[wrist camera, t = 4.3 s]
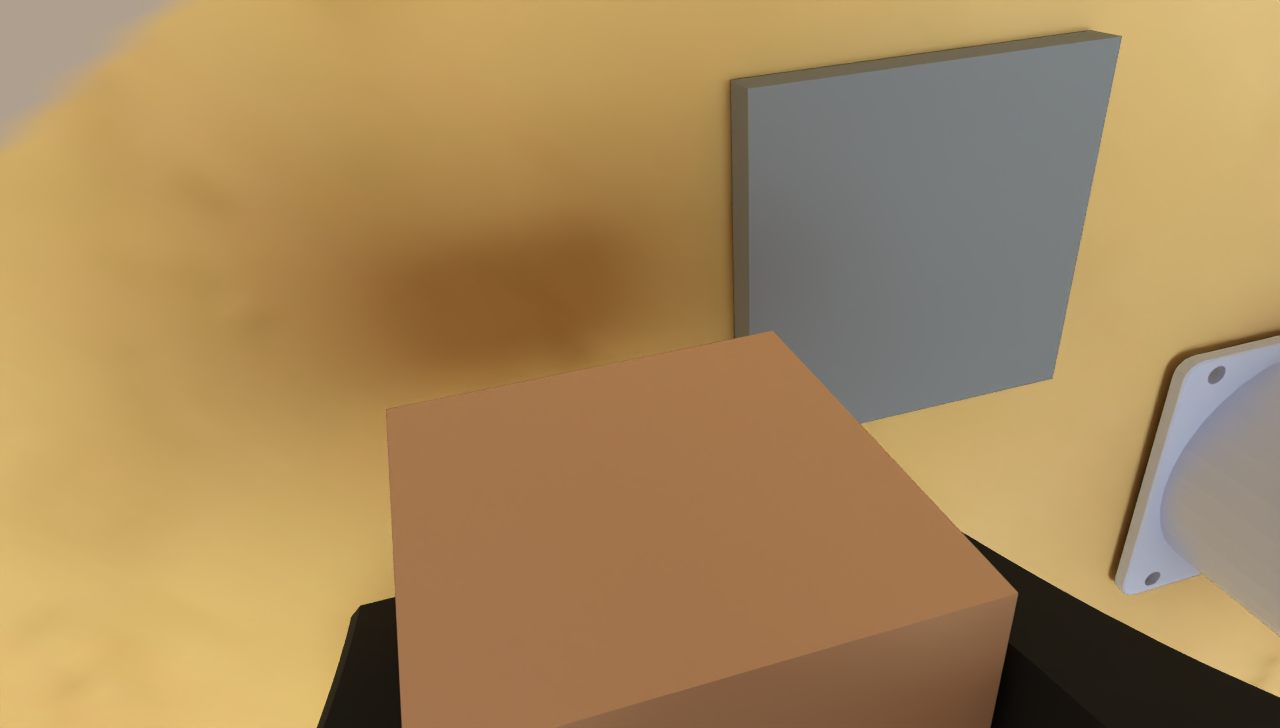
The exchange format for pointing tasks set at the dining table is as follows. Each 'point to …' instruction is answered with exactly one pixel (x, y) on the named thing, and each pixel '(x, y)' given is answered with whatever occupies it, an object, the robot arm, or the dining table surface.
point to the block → (679, 557)
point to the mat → (918, 215)
